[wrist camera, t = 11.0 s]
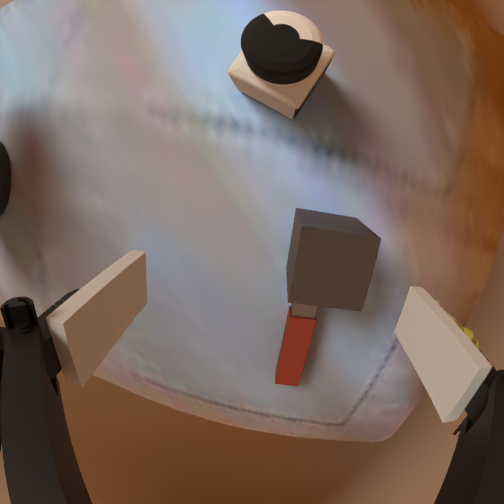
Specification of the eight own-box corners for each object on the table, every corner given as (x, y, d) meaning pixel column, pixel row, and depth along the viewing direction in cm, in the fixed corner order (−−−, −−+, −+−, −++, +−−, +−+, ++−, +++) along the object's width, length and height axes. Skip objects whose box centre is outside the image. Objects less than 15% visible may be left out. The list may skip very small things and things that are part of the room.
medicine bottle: (293, 121, 29) (301, 98, 17) (237, 90, 28) (213, 54, 17) (325, 72, 26) (348, 29, 15) (269, 42, 26) (263, -11, 14)
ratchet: (297, 208, 32) (302, 224, 24) (342, 215, 31) (360, 233, 24) (268, 370, 39) (265, 410, 31) (304, 374, 39) (306, 414, 31)
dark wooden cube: (295, 208, 29) (301, 225, 21) (356, 217, 28) (381, 238, 21) (286, 267, 31) (287, 302, 23) (343, 275, 30) (361, 310, 23)
